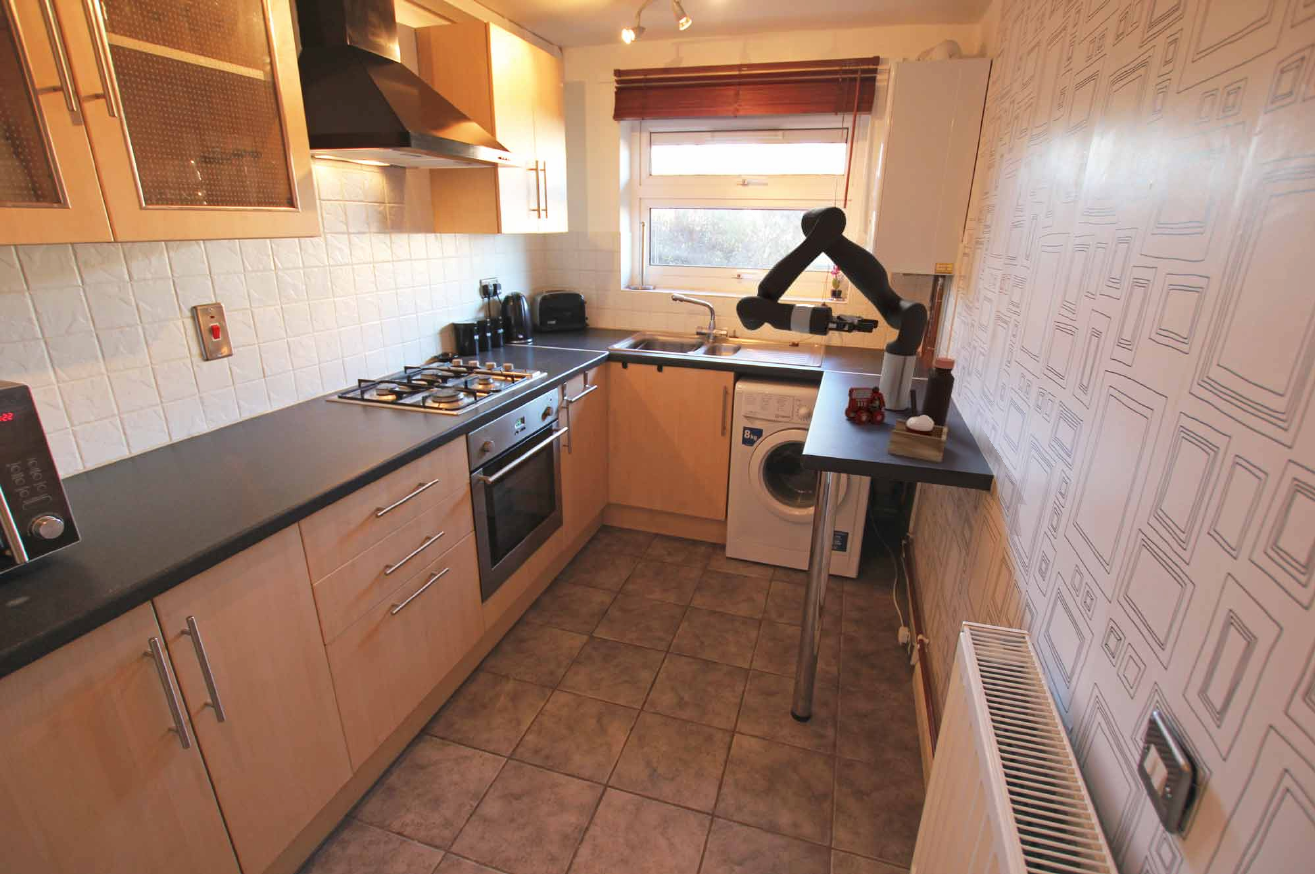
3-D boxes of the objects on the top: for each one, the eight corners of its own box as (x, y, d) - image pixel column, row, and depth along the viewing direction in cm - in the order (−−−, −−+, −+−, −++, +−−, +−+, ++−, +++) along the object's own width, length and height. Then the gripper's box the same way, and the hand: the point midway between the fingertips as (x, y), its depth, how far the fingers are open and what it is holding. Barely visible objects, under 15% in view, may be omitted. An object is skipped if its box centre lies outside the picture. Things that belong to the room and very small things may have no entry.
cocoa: (934, 448, 152) (946, 402, 147) (908, 445, 152) (920, 400, 148) (921, 434, 161) (933, 391, 156) (897, 431, 161) (908, 388, 156)
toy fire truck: (889, 424, 177) (895, 389, 174) (852, 425, 174) (857, 390, 170) (875, 417, 183) (881, 383, 180) (839, 418, 180) (844, 384, 177)
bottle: (918, 422, 179) (931, 355, 173) (943, 426, 177) (957, 358, 171) (919, 429, 173) (933, 360, 167) (945, 432, 171) (960, 363, 165)
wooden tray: (893, 437, 165) (897, 418, 163) (943, 446, 160) (948, 426, 158) (887, 452, 153) (891, 431, 152) (941, 462, 148) (945, 441, 146)
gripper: (806, 307, 152) (874, 314, 146) (819, 302, 164) (881, 308, 158) (802, 337, 155) (869, 345, 148) (815, 330, 167) (877, 337, 160)
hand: (875, 326), depth 153 cm, fingers open, 8 cm apart
